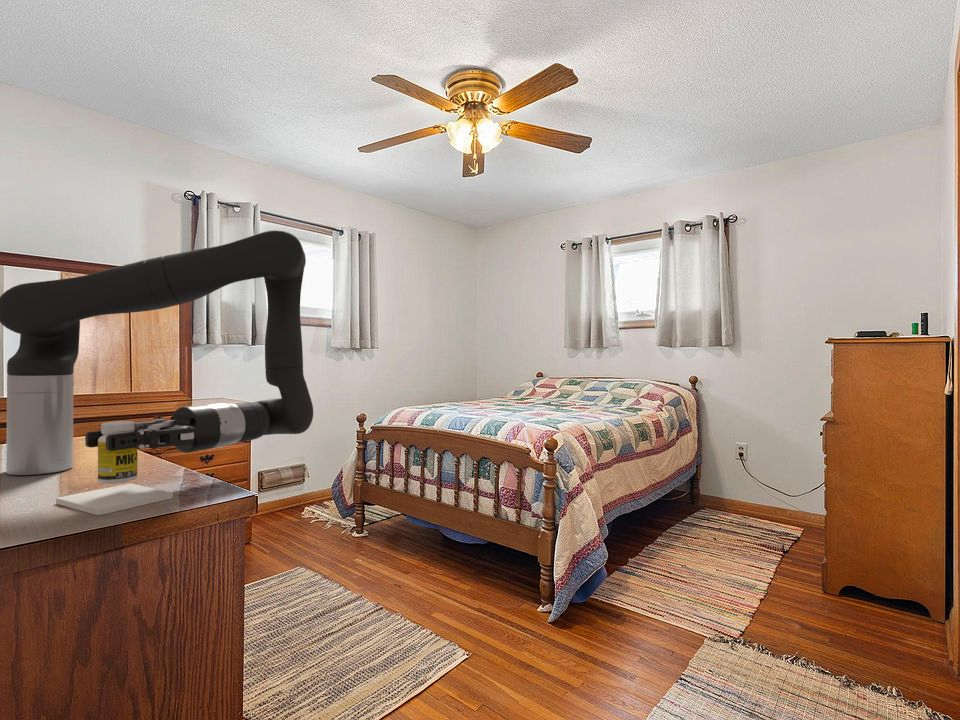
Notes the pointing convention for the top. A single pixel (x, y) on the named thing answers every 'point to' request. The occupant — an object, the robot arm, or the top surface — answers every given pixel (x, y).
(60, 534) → the top surface
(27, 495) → the top surface
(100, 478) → the supplement bottle
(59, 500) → the mat
